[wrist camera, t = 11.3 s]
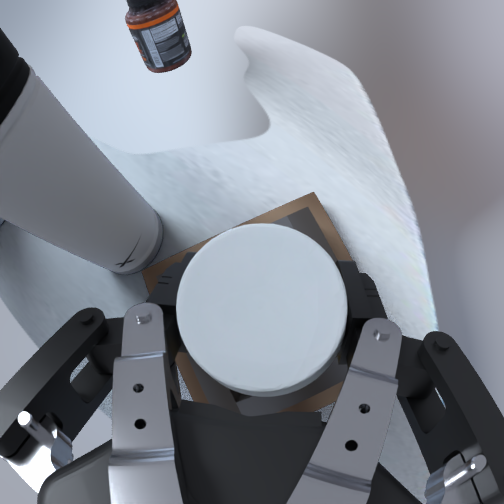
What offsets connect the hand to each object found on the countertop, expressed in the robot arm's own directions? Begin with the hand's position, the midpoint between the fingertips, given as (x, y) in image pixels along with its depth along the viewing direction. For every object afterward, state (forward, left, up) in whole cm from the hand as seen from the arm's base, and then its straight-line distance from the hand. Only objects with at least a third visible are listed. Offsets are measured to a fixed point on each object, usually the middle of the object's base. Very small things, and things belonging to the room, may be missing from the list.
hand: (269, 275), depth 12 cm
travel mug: (-8, +9, -9) cm, 15 cm away
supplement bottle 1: (+1, +31, -9) cm, 32 cm away
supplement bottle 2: (-1, -2, -4) cm, 5 cm away
